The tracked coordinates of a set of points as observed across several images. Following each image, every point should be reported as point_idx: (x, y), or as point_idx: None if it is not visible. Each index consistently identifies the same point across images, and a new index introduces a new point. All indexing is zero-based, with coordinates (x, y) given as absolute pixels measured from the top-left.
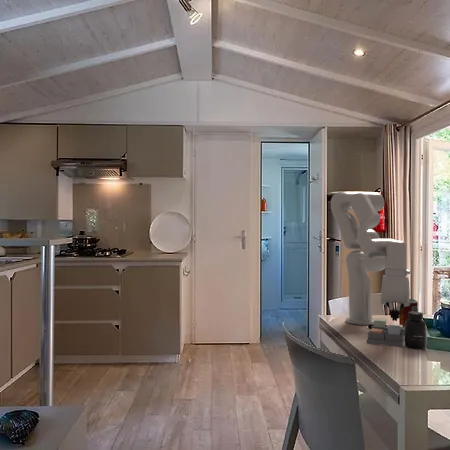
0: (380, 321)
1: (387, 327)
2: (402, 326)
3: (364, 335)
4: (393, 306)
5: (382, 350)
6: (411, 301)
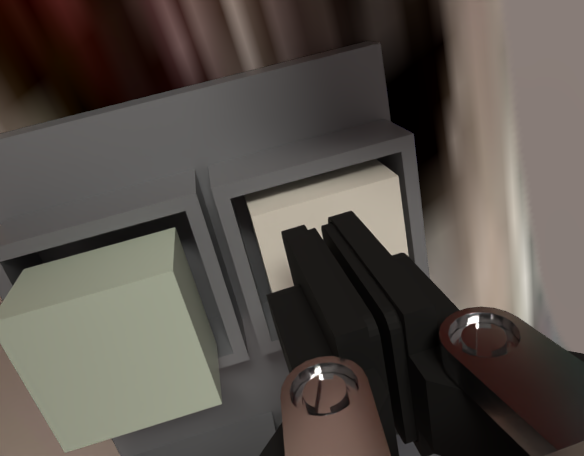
0: (159, 418)
1: (236, 318)
2: (398, 208)
3: (21, 379)
4: (374, 405)
5: None
6: None
